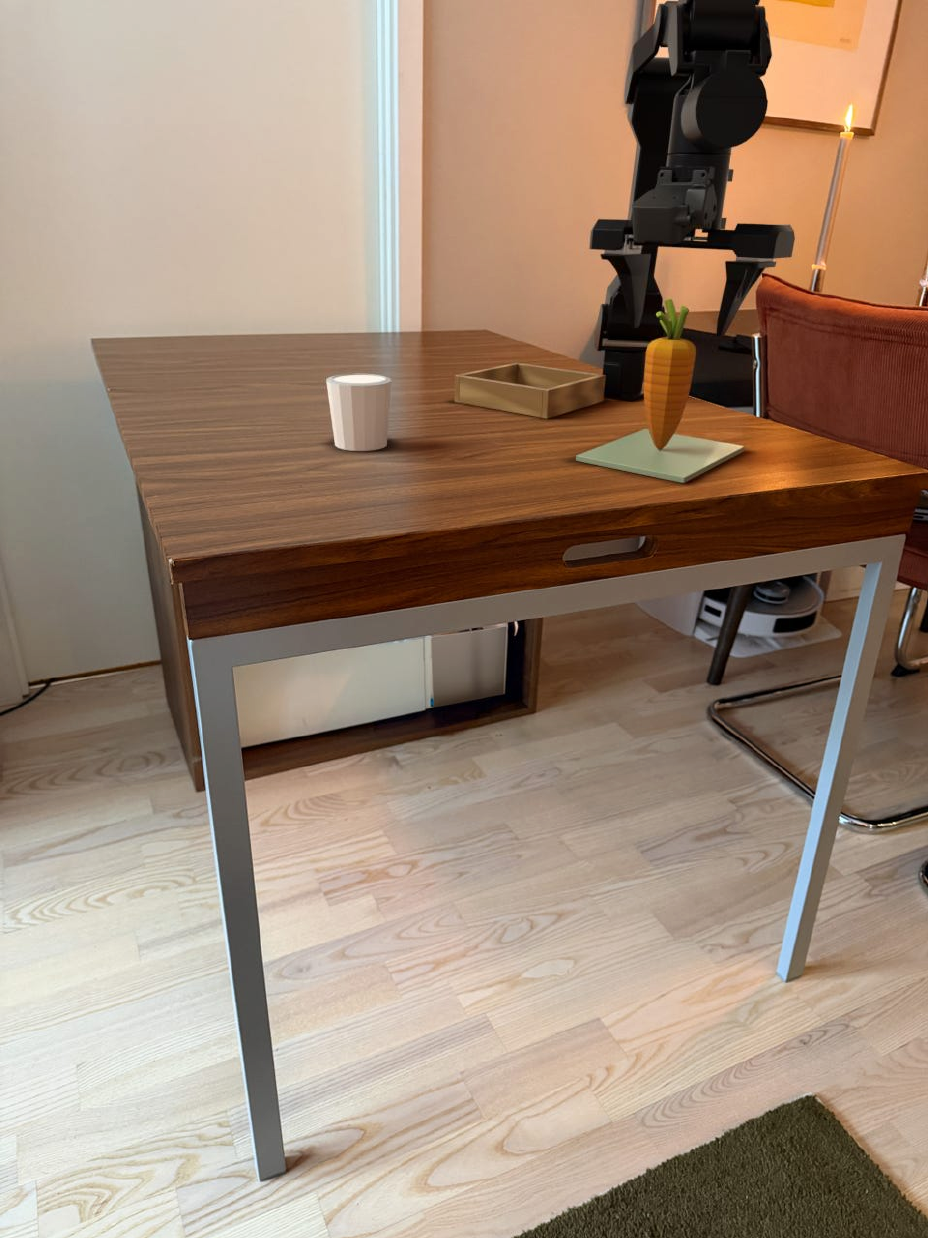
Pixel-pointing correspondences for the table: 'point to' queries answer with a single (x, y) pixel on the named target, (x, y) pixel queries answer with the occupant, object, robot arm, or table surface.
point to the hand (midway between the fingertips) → (676, 332)
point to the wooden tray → (530, 389)
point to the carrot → (668, 376)
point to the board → (661, 456)
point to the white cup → (359, 410)
